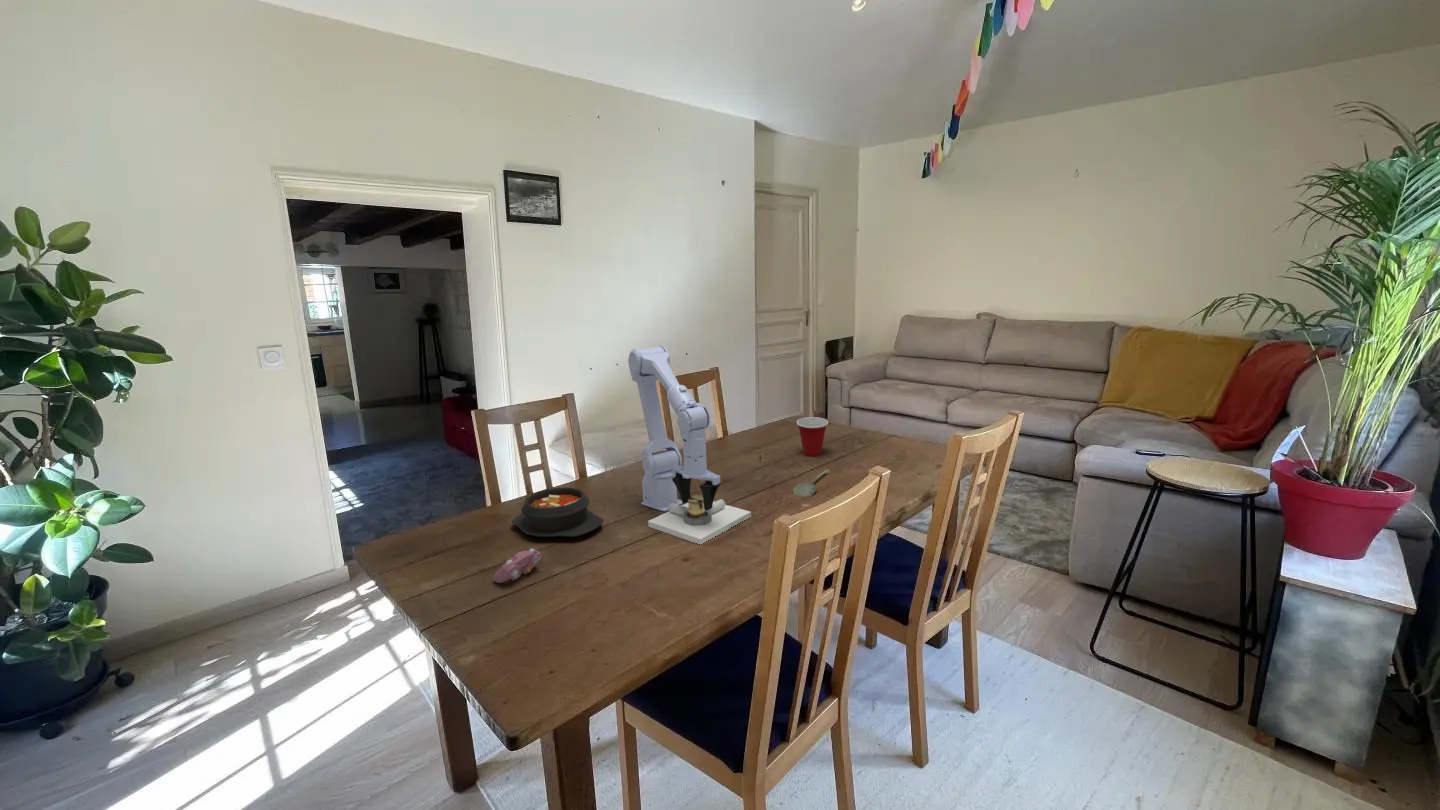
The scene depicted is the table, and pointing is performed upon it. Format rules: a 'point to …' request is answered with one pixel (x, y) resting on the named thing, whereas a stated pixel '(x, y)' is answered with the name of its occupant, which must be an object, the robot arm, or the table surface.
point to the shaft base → (699, 531)
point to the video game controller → (518, 565)
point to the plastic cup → (812, 434)
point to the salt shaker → (696, 507)
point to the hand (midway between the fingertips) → (697, 505)
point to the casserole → (557, 514)
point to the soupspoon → (807, 487)
